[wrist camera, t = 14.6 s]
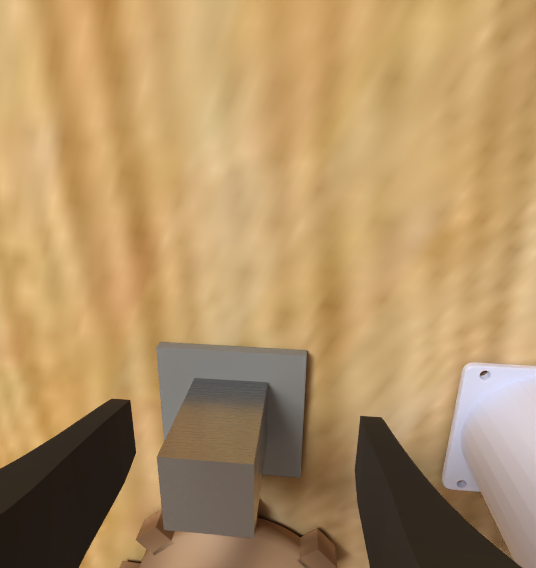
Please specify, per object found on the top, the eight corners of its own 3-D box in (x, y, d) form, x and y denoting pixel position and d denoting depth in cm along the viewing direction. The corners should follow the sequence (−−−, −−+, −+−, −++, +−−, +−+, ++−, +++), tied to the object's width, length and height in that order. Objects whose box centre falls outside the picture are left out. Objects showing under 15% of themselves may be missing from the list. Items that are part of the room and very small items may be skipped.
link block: (267, 382, 22) (253, 464, 17) (266, 443, 24) (253, 538, 18) (194, 377, 23) (156, 457, 17) (197, 438, 24) (164, 529, 19)
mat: (306, 350, 22) (306, 356, 22) (300, 470, 25) (300, 478, 24) (160, 341, 23) (155, 347, 22) (169, 459, 26) (165, 467, 25)
